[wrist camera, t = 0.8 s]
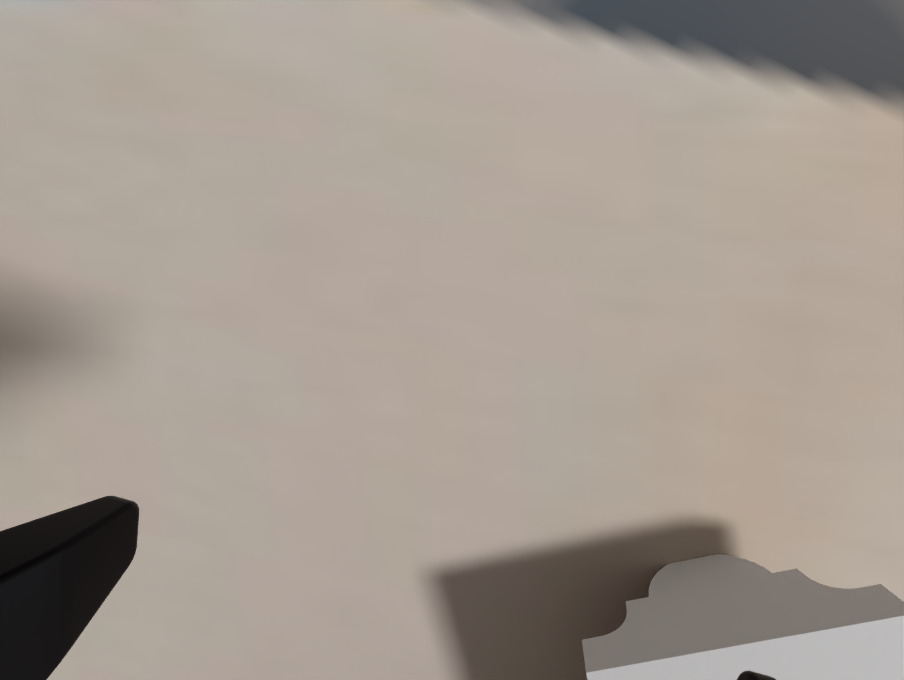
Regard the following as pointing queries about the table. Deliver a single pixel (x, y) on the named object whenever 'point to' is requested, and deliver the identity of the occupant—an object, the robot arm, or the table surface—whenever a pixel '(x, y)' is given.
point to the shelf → (750, 628)
